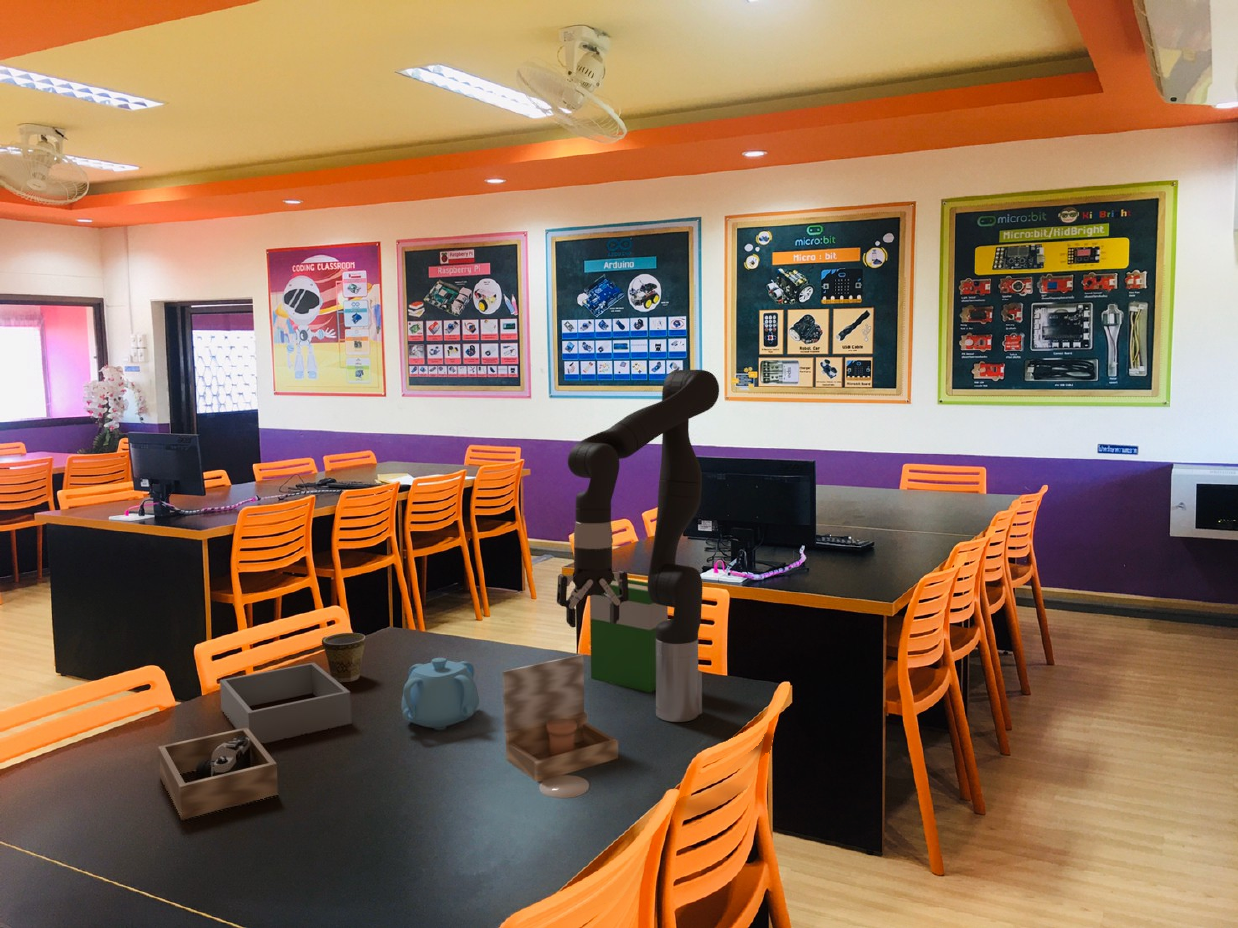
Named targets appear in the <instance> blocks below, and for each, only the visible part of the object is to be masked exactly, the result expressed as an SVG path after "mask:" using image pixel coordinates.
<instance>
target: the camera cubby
mask: <svg viewBox="0 0 1238 928" xmlns="http://www.w3.org/2000/svg"><path fill="white" fill-rule="evenodd" d="M240 736H245V737H246V738H249V739H250V761H251V768H247V769H243V770H238V771H234V772H230V773H226V774H222V775H218V776H213V777H209V778H205V779H201V780H197V781H195V780H193V781H189V782H185V780H184V779H183V777H182V774H181V773H185V774H187V773H186V772H190V771H194V770H196V768H197V766H198V764H199V762H202V761H203V760H211V759H212V753H213V752H214V751H215V750H216V749H217V747H218V746H220V745H221V744H223V743H228V742H233V739H234V738H236V739H237V737H240ZM228 744H229V743H228ZM157 749H158V751H157V752H158V754H157V755H158V766H159V767H158V768H159V778H160V780H161V782H162V784H163V786H164V785H165V786H164V788H165V790H166V792H167V791H168V792H167V794H168V793H169V794H168V796H169V795H170V796H169V798H170V797H171V798H170V800H171V799H172V800H173V802H172V803H174V804H173V806H174V805H175V806H176V808H175V810H176V809H177V810H178V812H177V814H178V813H179V814H178V815H180V816H179V817H181V818H180V820H181V819H182V820H183V819H186V818H189V817H190V818H191V817H194V816H198V817H200V816H199V815H202V814H205V813H208V812H211V811H214V810H220V809H222V808H226V807H229V806H232V805H239V804H243V803H246V802H250V801H253V800H260V799H263V800H265V799H264V798H266V797H269V796H273V795H278V796H279V786H278V785H279V784H278V767H277V765H278V764H277V762H276V761H275V760H274V758H273V757H272V756H271V755H270V753H269V752H268V751H267V750H266V749H265V747H264V746H263V744H260V743H259V741H258V740H257V739H256V738H255V737H254V735H253V734H252V733H251V732H250V730H249V729H248V728H247V727H246V728H242V729H233V730H229V731H225V732H224V731H223V732H219V733H215V734H210V735H205V736H200V737H196V738H191V739H187V740H186V739H185V740H182V741H177V742H173V743H168V744H163V745H159V746H157ZM194 772H195V771H194ZM190 773H191V772H190ZM180 774H181V775H180ZM172 800H171V801H172ZM260 801H261V800H260ZM175 806H174V807H175ZM177 810H176V811H177ZM202 816H203V815H202ZM194 818H195V817H194ZM191 819H192V818H191ZM182 820H181V821H182ZM183 821H184V820H183Z"/></svg>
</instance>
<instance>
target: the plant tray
mask: <svg viewBox="0 0 1238 928" xmlns="http://www.w3.org/2000/svg"><path fill="white" fill-rule="evenodd" d="M219 685H220V686H219V687H220V702H221V704H220V707H221V708H220V709H221V711H222V713H223V712H224V713H223V714H224V715H225V716H227V717H226V718H227V719H228V718H229V719H228V720H229V722H230V723H231V724H232V725H233V727H234V728H235V730H237V729H242V728H246V727H247V728H248V729H249V730H250V732H251V733H252V734H253V735H254V737H255V738H256V739H257V740H258V741H259V743H260V744H261V743H264V744H268V743H272V742H276V741H281V740H284V738H286V739H289V738H294V737H298V736H302V735H301V734H303V735H306V734H305V733H307V734H311V733H315V732H321V731H323V730H329V729H333V728H337V726H338V727H342V726H347V725H350V724H353V723H352V702H351V691H350V690H349V689H347V688H346V687H344V686H343V685H342V683H341V682H337V681H336V680H335V679H334V678H333V677H331V674H329V673H327V671H326V670H324V669H323V668H322V667H320V666H319V665H318V664H316V662H310V663H304V664H299V665H293V666H289V667H284V668H283V667H282V668H277V669H271V670H267V671H262V672H261V671H260V672H255V673H251V674H246V675H239V676H234V677H228V678H224V679H220V680H219ZM310 694H311V695H312V694H313V696H315V697H312V698H306V699H302V700H297V701H292V702H287V703H282V704H278V705H273V706H269V707H263V708H259V709H254V710H252V709H251V708H250V707H251V706H252V707H253V706H258V705H262V704H266V703H272V702H276V701H281V700H286V699H290V698H296V697H300V696H306V695H310ZM328 728H329V729H328ZM261 745H262V744H261Z"/></svg>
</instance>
